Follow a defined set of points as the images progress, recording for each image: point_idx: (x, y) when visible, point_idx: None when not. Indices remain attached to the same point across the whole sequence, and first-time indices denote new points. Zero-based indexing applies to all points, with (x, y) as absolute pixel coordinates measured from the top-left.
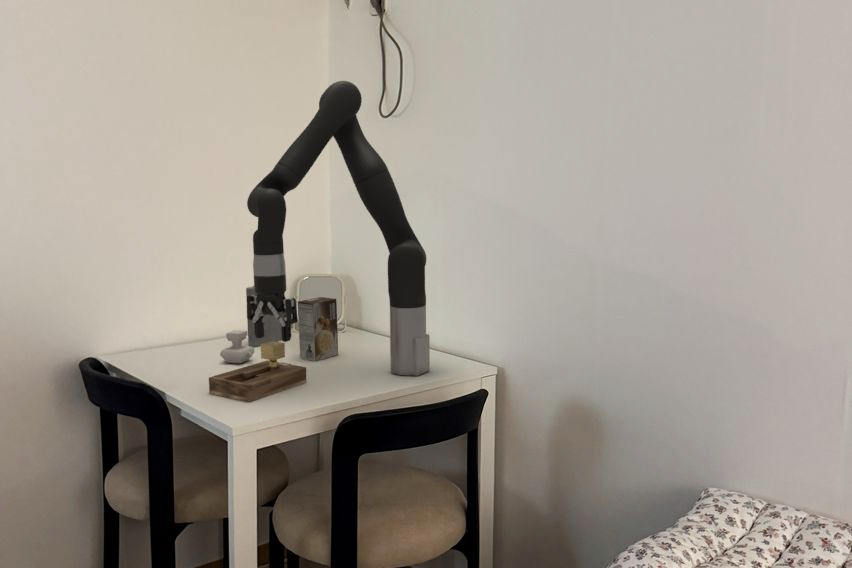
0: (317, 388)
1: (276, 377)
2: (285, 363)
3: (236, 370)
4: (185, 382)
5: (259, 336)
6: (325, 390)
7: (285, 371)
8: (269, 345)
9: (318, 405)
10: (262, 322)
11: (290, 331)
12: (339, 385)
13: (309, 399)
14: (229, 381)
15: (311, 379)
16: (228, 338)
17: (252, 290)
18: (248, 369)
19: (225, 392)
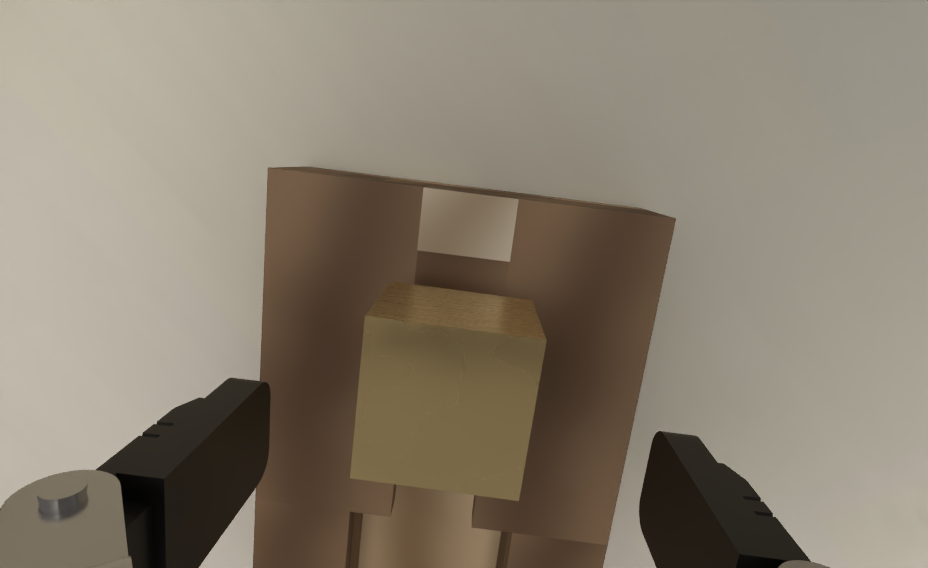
0: (772, 291)
1: (614, 500)
2: (477, 213)
3: (277, 480)
4: (18, 482)
5: (260, 456)
6: (838, 306)
7: (597, 378)
8: (469, 490)
9: (919, 538)
10: (164, 499)
11: (778, 535)
12: (879, 178)
13: (827, 477)
14: None
15: (634, 134)
16: None
17: None
18: (331, 434)
19: None
